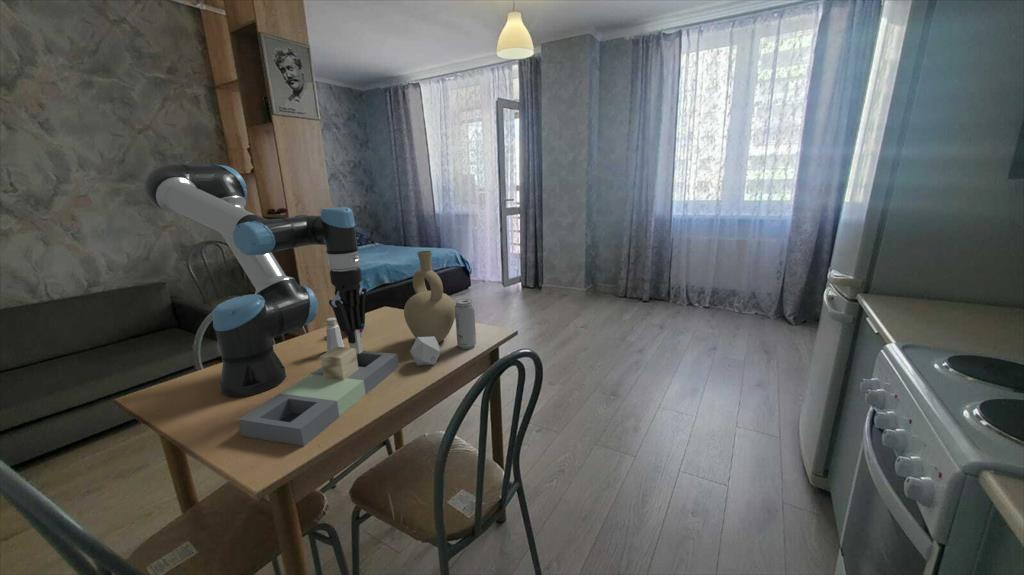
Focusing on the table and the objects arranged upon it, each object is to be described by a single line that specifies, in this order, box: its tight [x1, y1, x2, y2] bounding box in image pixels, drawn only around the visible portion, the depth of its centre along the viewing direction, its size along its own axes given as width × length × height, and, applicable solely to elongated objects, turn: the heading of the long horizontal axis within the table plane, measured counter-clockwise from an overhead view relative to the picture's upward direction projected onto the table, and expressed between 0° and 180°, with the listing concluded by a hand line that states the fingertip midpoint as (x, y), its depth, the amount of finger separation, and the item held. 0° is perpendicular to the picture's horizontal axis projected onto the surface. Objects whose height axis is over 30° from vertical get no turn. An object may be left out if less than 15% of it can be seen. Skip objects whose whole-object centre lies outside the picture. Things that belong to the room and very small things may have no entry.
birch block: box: [319, 346, 359, 380], centre depth 105 cm, size 6×6×6 cm
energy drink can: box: [455, 298, 477, 350], centre depth 128 cm, size 6×6×15 cm
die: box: [409, 336, 442, 366], centre depth 118 cm, size 8×9×10 cm
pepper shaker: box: [325, 317, 345, 352], centre depth 128 cm, size 5×5×11 cm
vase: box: [403, 250, 456, 344], centre depth 132 cm, size 17×17×30 cm
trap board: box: [238, 350, 400, 447], centre depth 102 cm, size 16×37×4 cm, turn 165°
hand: (356, 352), depth 111 cm, fingers closed
